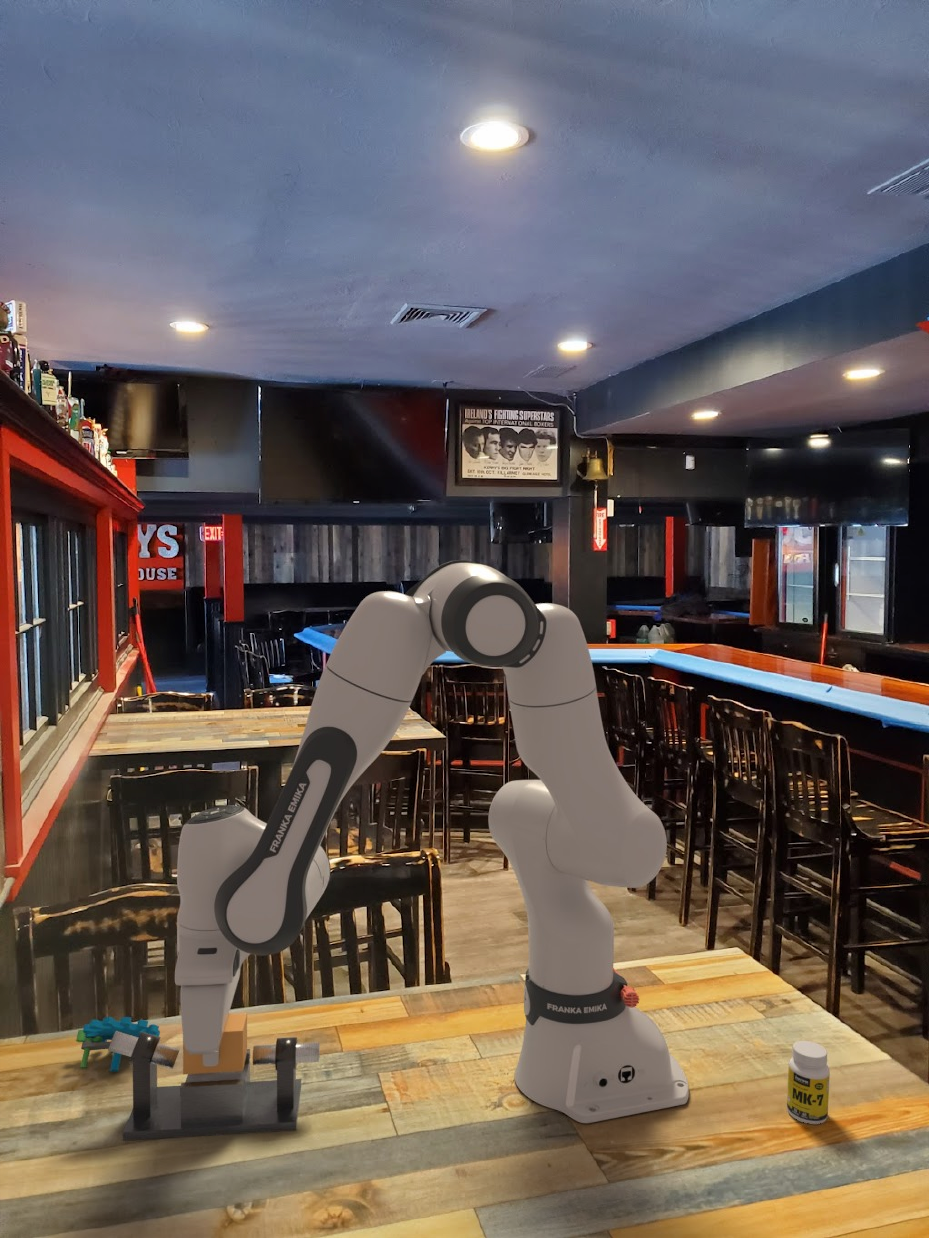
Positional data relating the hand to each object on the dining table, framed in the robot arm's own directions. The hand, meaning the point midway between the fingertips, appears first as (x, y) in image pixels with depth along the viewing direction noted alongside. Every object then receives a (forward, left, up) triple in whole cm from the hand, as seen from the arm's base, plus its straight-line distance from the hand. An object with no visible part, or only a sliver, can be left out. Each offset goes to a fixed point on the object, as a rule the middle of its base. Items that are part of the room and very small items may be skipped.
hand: (215, 1050), depth 109 cm
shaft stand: (0, 0, -8) cm, 8 cm away
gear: (+15, -14, -8) cm, 22 cm away
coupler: (0, 0, -2) cm, 2 cm away
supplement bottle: (-73, +7, -8) cm, 74 cm away
